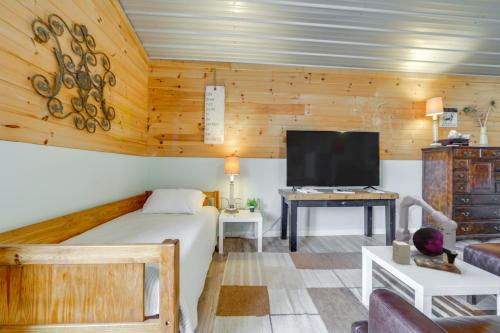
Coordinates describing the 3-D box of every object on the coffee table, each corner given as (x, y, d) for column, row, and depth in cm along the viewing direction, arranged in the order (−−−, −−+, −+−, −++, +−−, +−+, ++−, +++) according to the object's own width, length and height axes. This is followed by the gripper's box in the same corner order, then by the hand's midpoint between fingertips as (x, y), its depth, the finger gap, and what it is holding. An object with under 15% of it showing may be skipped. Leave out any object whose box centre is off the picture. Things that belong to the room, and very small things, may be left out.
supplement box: (403, 260, 149) (403, 241, 149) (410, 264, 142) (410, 245, 142) (391, 259, 150) (392, 240, 150) (398, 264, 142) (398, 244, 143)
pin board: (417, 266, 140) (417, 259, 140) (413, 260, 150) (413, 253, 150) (461, 274, 131) (461, 266, 131) (453, 267, 140) (453, 259, 140)
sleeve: (444, 264, 136) (445, 255, 136) (442, 261, 141) (442, 252, 141) (455, 266, 134) (456, 256, 134) (452, 263, 139) (452, 253, 139)
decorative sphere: (408, 249, 172) (408, 223, 172) (439, 252, 165) (439, 226, 166) (418, 258, 153) (419, 229, 153) (454, 263, 146) (455, 233, 147)
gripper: (462, 244, 129) (462, 267, 129) (453, 238, 142) (452, 259, 142) (447, 242, 132) (446, 265, 132) (439, 236, 145) (438, 256, 145)
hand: (449, 261), depth 137 cm, fingers closed on sleeve, 5 cm apart
